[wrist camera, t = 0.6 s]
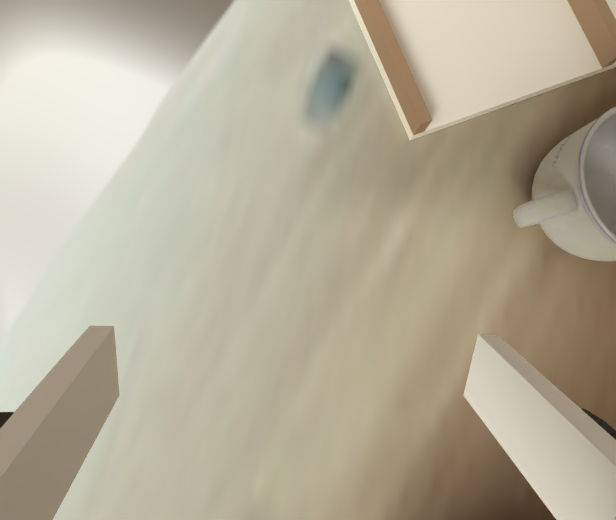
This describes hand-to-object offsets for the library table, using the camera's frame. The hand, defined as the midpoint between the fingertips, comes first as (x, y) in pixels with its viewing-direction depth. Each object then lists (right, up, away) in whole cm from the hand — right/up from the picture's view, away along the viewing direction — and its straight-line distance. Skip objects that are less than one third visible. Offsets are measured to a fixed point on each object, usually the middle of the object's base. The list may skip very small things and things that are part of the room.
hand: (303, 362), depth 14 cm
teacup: (+21, +8, +19) cm, 30 cm away
